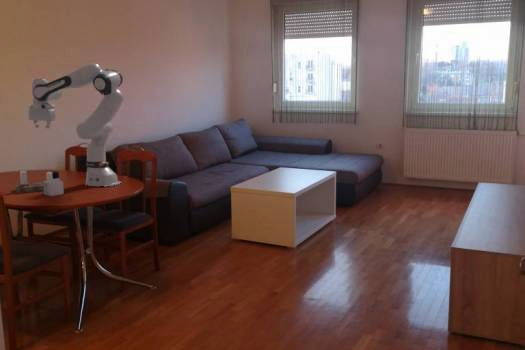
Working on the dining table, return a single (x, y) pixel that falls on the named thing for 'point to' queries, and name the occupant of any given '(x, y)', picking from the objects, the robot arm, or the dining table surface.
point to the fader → (23, 178)
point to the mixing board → (30, 188)
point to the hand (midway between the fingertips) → (42, 127)
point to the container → (53, 184)
